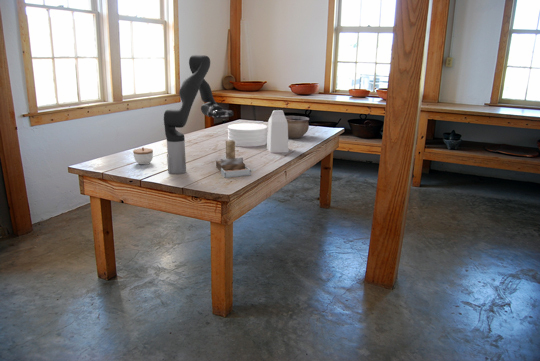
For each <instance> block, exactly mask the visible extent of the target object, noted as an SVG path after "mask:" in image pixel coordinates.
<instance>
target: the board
mask: <svg viewBox="0 0 540 361" xmlns="http://www.w3.org/2000/svg"><path fill="white" fill-rule="evenodd" d="M245 166H246V164H245V162H243V163H242V164H231V165H221V160H215V168H216V170H218V171H219V172H220V173H221V168H222V169H223V170H224V171H226V170H237V169H239V170H240V169H245Z"/></svg>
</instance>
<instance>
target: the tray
mask: <svg viewBox="0 0 540 361" xmlns="http://www.w3.org/2000/svg"><path fill="white" fill-rule="evenodd" d="M245 169H247V170H238V171H228V172H225V171H224V170H223V169H222V168H221V172H220V174H221V176H223V177H224V178H237V177H246V176H251V174H252V172H251V171H252V170H251V168H249V167H248V166H247V165H245Z"/></svg>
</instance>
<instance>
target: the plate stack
mask: <svg viewBox="0 0 540 361" xmlns="http://www.w3.org/2000/svg"><path fill="white" fill-rule="evenodd" d="M267 135H268V125H266V124H262V123H252V122H242V123H240V122H239V123H233V124H229V125H227V141H228V140H233V141H235V147H242V148H243V147H249V148H250V147H259V146H265V145H267Z"/></svg>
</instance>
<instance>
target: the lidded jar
mask: <svg viewBox="0 0 540 361" xmlns="http://www.w3.org/2000/svg"><path fill="white" fill-rule="evenodd" d="M132 152H133V158H134V160H135V162H136V163H137V164H138V165H139V164H147V165H149V164H150V163H151V162H152V161H153V156H154V153H153V152H154V150H153V149H152V148H146V147H143V146H141V148H137V149H134V150H132ZM148 163H149V164H148Z"/></svg>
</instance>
